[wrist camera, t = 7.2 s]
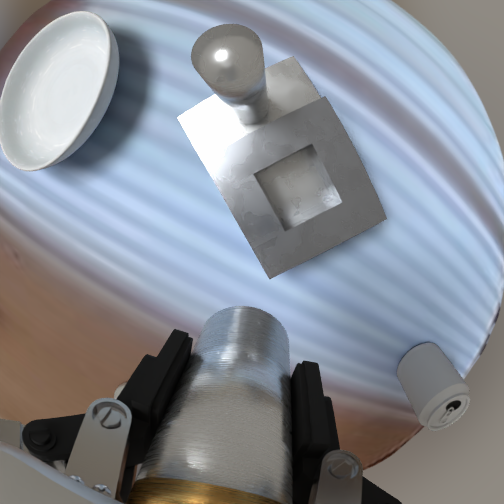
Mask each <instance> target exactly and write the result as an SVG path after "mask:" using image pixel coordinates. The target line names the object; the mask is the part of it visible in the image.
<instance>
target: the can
mask: <svg viewBox="0 0 504 504" xmlns="http://www.w3.org/2000/svg"><path fill="white" fill-rule="evenodd" d="M397 377H398V379H399V381H400V383H401V385H402V387H403V389H404V391H405V393H406V395H407V397H408V399H409V401H410V403H411V405H412V407H413V410H414V412H415V414H416V416H417V418H418V420H419V422H420V424H421V425H423V426H426V427H428V429H429V430H431V431H437V430H441V429H444V428H446V427H448V426H450V425H451V424H452V423H454V422H456V421H457V420H458V419H459V418H460V417H461V416H462V415H463V414H464V412H465V411H466V410H467V408H468V406H469V403H470V397H469V396H468V395H469V387H468V385H467V384H466V382H465V381H464V380H463V378H462V377H461V376H460V374H459V373H458V371H457V370H456V369H455V367H454V366H453V365H452V363H451V362H450V361H449V360H448V358H447V357H446V356H445V354H444V353H443V352H442V351H441V349H440V348H439V347H438V346H437V345H436V344H434V343H424V344H421V345H418V346H416V347H414V348H412V349H411V350H410V351H408V352H407V353H406V355H405V356H404V357H403V358H402V360H401V362H400V363H399V365H398V368H397Z"/></svg>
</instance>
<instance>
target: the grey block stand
mask: <svg viewBox="0 0 504 504" xmlns="http://www.w3.org/2000/svg"><path fill="white" fill-rule="evenodd" d="M191 60H192V64H193V66H194V68H195V69H196V71H197V72H198V73H199V74H200V76H201V77H202V78H203V79H204V81H205V82H206V83H207V84H208V86H209V87H210V88H211V89H212V91H213V92H214V93H215V95H214V96H212V97H210V98H208V99H207V100H205V101H203V102H202V103H200V104H198V105H197V106H195V107H194V108H192V109H190V110H189V111H187V112H186V113H184V114H182V115H181V116H179V117H178V119H179V121H180V123H181V124H182V126H183V128H184V130H185V132H186V133H187V135H188V137H189V139H190V140H191V142H192V144H193V146H194V147H195V149H196V151H197V153H198V154H199V156H200V158H201V160H202V161H203V163H204V165H205V167H206V168H207V170H208V172H209V174H210V175H211V177H212V179H213V181H214V182H215V184H216V186H217V188H218V189H219V191H220V193H221V195H222V196H223V198H224V200H225V202H226V204H227V205H228V207H229V209H230V211H231V212H232V214H233V216H234V218H235V219H236V221H237V223H238V225H239V226H240V228H241V230H242V232H243V233H244V235H245V237H246V239H247V241H248V242H249V244H250V246H251V248H252V249H253V251H254V253H255V255H256V256H257V258H258V260H259V262H260V263H261V265H262V267H263V269H264V270H265V272H266V274H267V276H268V277H269V279H271V278H273V277H275V276H277V275H279V274H281V273H283V272H285V271H287V270H289V269H291V268H293V267H295V266H297V265H299V264H301V263H303V262H305V261H307V260H309V259H311V258H313V257H315V256H317V255H319V254H321V253H323V252H325V251H327V250H329V249H331V248H333V247H335V246H337V245H339V244H340V243H342V242H344V241H346V240H348V239H350V238H352V237H354V236H356V235H358V234H360V233H361V232H363V231H365V230H367V229H369V228H371V227H373V226H375V225H377V224H378V223H380V222H382V221H384V220H386V219H387V218H386V215H385V213H384V210H383V208H382V206H381V203H380V201H379V199H378V196H377V194H376V192H375V189H374V187H373V185H372V183H371V181H370V178H369V176H368V174H367V172H366V170H365V168H364V166H363V164H362V162H361V160H360V158H359V156H358V154H357V152H356V150H355V148H354V146H353V144H352V142H351V140H350V138H349V136H348V135H347V133H346V131H345V129H344V127H343V125H342V124H341V122H340V120H339V118H338V117H337V115H336V113H335V111H334V110H333V108H332V106H331V105H330V103H329V101H328V100H327V98H326V96H325V97H323V98H321V97H320V96H319V94H318V92H317V91H316V89H315V88H314V86H313V84H312V83H311V81H310V80H309V78H308V77H307V75H306V74H305V72H304V71H303V69H302V68H301V66H300V65H299V63H298V62H297V61H296V59H295V58H294V56H292V57H290V58H288V59H285V60H283V61H281V62H278V63H276V64H274V65H272V66H270V67H268V68H265V66H264V57H263V48H262V43H261V40H260V38H259V37H258V35H257V34H256V33H255V32H253V31H252V30H251V29H249V28H247V27H245V26H242V25H237V24H224V25H219V26H216V27H213V28H211V29H209V30H207V31H206V32H204V33H203V34H202V35H201V36H200V37H199V38H198V39H197V41H196V42H195V44H194V46H193V48H192V52H191Z"/></svg>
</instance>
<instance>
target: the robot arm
mask: <svg viewBox="0 0 504 504" xmlns="http://www.w3.org/2000/svg"><path fill="white" fill-rule="evenodd" d="M192 341H193V338H190V337H188V333H186V332H183V331H180V330H176V329H174V330H173V332H172V333H171V335H170V337H169V338H168V340H167V341H166V343H165V345H164V346H163V348H162V350H161V351H160V353H159V354H158V356H157V357H154V356H151V355H148V354H147V355H145V356H144V358H143V359H142V361H141V362H140V364H139V365H138V367H137V368H136V370H135V371H134V373H133V374H132V376H131V377H130V379H129V380H128V382H125V383H123V384H121V385H120V386H119V387H118V388H117V389H116V391H115V394H114V399H112V398H101V399H98V400H95V401H94V402H93V403H91V405H90V406H89V408H88V410H87V412H86V414H79V415H73V416H66V417H58V418H50V419H40V420H34V421H31V422H29V423H28V424H27V425H22V424H21V422H19V421H12V420H5V419H0V504H126V501H127V499H128V496H129V494H130V492H131V489H132V487H133V485H134V482H135V480H136V478H137V475H138V473H139V471H140V468H141V466H142V464H143V461H144V459H145V457H146V454H147V452H148V450H149V447H150V445H151V443H152V441H153V438H154V436H155V434H156V431H157V429H158V427H159V425H160V422H161V420H162V418H163V415H164V413H165V411H166V409H167V406H168V404H169V402H170V400H171V397H172V395H173V393H174V391H175V388H176V386H177V384H178V382H179V380H180V377H181V375H182V373H183V371H184V368H185V366H186V364H187V362H188V360H189V357H190V355H191V348H192ZM291 410H292V504H402V503H401V502H400V501H399V500H398V499H396V498H394V497H393V496H391V495H390V494H388V493H386V492H385V491H384V490H382V489H381V488H379V487H377V486H376V485H375V484H373V483H372V482H370V481H369V480H367V479H366V478H365V477H363V476H362V475H363V468H362V463H361V462H360V460H359V458H358V457H357V456H356V455H354V454H353V453H351V452H349V451H345V450H340V447H339V440H338V434H337V429H336V423H335V417H334V411H333V406H332V401H331V398H330V397H326V396H324V394H323V388H322V382H321V376H320V371H319V365H318V363H315V362H309V361H303V362H302V364H300V363H298V364H297V365H296V367H295V370H294V372H293V374H292V377H291Z"/></svg>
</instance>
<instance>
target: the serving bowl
mask: <svg viewBox="0 0 504 504" xmlns="http://www.w3.org/2000/svg"><path fill="white" fill-rule="evenodd" d="M118 71H119V51H118V45H117V42H116V39H115V36H114V34H113V32H112V30H111V29H110V27H109V26H108V25H107V23H106V22H105V21H104V20H103V19H102V18H101V17H100V16H98V15H97V14H94V13H92V12H87V11H78V12H73V13H69V14H66V15H64V16H62V17H60V18H58V19H56V20H54V21H53V22H51V23H50V24H48V25H47V26H46V27H44V28H43V29H42V30H41V31H40V32H39V33H38V34H37V35H36V36H35V37H34V38H33V39H32V40H31V41H30V42H29V43H28V45H27V46H26V47H25V48H24V50H23V51H22V53H21V54H20V55H19V57H18V59H17V60H16V62H15V64H14V65H13V67H12V69H11V71H10V73H9V76H8V78H7V80H6V83H5V86H4V89H3V92H2V96H1V100H0V144H1V147H2V150H3V152H4V154H5V156H6V158H7V159H8V160H9V162H10V163H11V164H12V165H13V166H15V167H16V168H18V169H20V170H23V171H37V170H41V169H44V168H47V167H50V166H53V165H55V164H57V163H59V162H61V161H63V160H64V159H66V158H67V157H69V156H70V155H71V154H73V153H74V152H75V151H76V150H77V149H79V148H80V147H81V146H82V145H83V144H84V143H85V141H86V140H87V139H88V138H89V137H90V135H91V134H92V133H93V132H94V130H95V129H96V127H97V126H98V124H99V123H100V121H101V119H102V118H103V116H104V114H105V112H106V110H107V108H108V106H109V104H110V101H111V99H112V96H113V93H114V90H115V86H116V82H117V78H118Z"/></svg>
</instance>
